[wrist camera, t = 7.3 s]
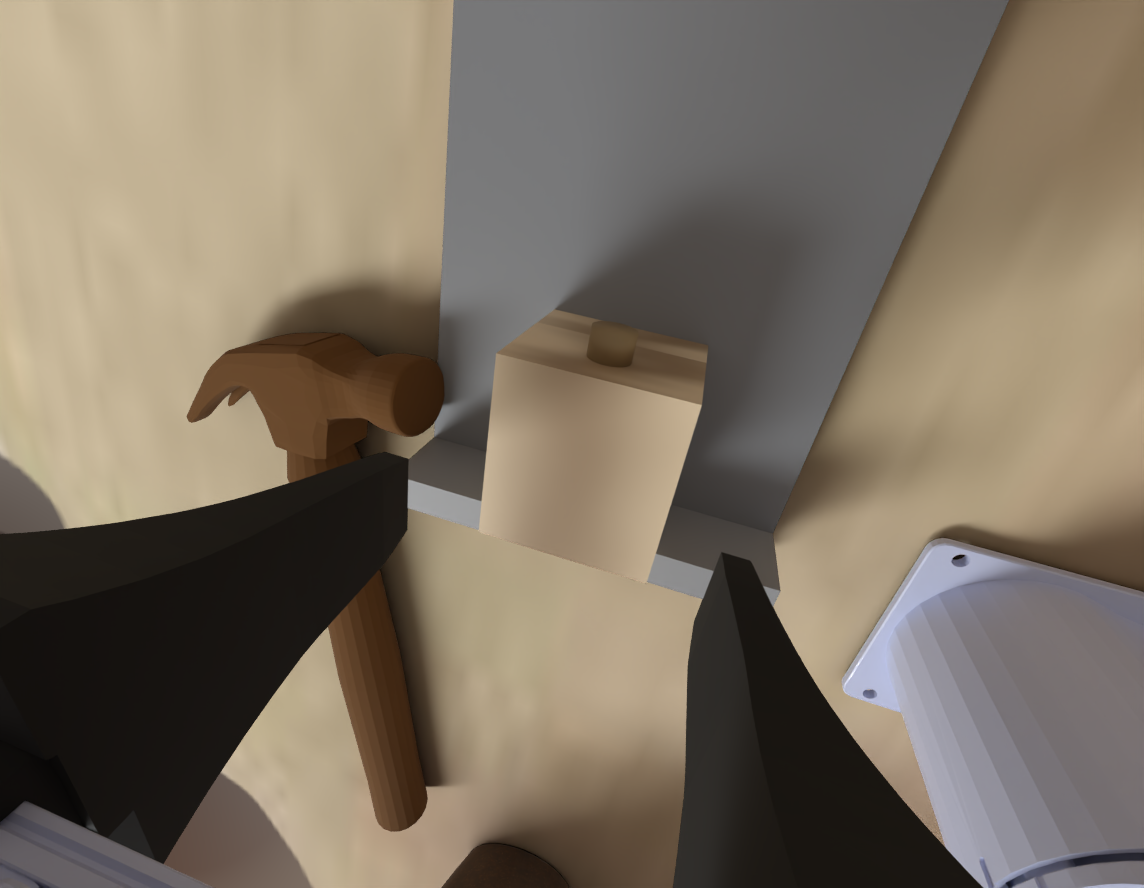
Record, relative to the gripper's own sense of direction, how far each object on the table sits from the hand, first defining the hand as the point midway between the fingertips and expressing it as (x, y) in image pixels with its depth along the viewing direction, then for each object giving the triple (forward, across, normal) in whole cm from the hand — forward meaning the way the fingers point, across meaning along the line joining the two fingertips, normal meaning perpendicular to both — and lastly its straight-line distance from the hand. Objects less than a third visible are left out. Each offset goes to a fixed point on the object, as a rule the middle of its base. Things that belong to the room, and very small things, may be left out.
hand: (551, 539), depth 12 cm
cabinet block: (+7, 0, 0) cm, 7 cm away
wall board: (+8, 0, -4) cm, 9 cm away
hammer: (+9, +10, +15) cm, 20 cm away
